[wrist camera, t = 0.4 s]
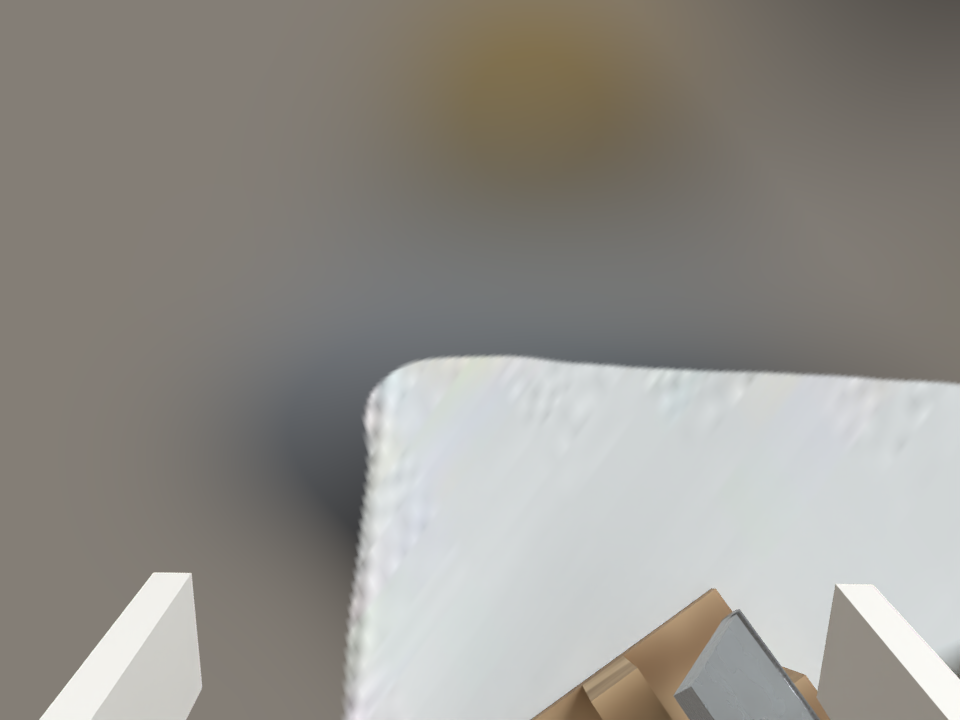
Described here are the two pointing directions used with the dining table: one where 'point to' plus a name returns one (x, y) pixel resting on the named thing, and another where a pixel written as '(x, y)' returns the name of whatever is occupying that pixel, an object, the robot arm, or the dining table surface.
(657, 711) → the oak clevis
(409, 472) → the dining table surface
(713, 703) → the plate
